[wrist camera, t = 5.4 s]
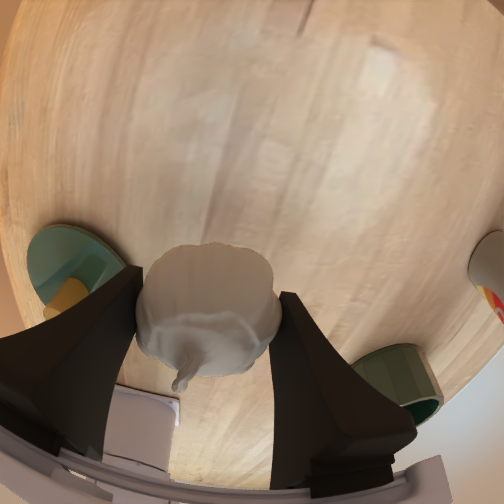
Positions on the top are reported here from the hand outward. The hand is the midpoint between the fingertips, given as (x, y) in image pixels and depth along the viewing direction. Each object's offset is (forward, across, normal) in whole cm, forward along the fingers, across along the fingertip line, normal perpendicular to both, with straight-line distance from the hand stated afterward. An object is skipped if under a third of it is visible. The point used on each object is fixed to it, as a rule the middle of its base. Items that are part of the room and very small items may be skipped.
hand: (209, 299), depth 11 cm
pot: (+7, -19, +14) cm, 24 cm away
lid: (+6, +11, +7) cm, 14 cm away
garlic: (+2, 0, 0) cm, 2 cm away
